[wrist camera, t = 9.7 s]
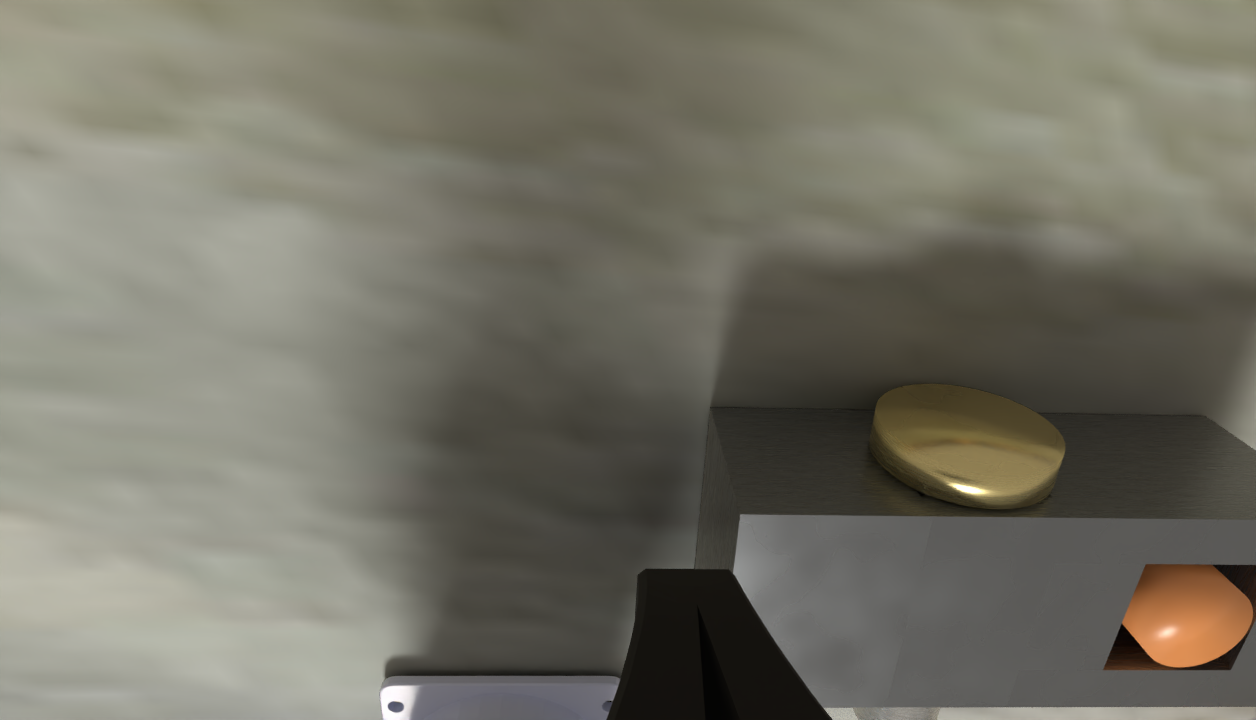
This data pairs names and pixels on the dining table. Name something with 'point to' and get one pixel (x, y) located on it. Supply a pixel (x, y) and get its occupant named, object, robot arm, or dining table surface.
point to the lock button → (1187, 614)
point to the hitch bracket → (978, 562)
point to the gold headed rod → (962, 460)
